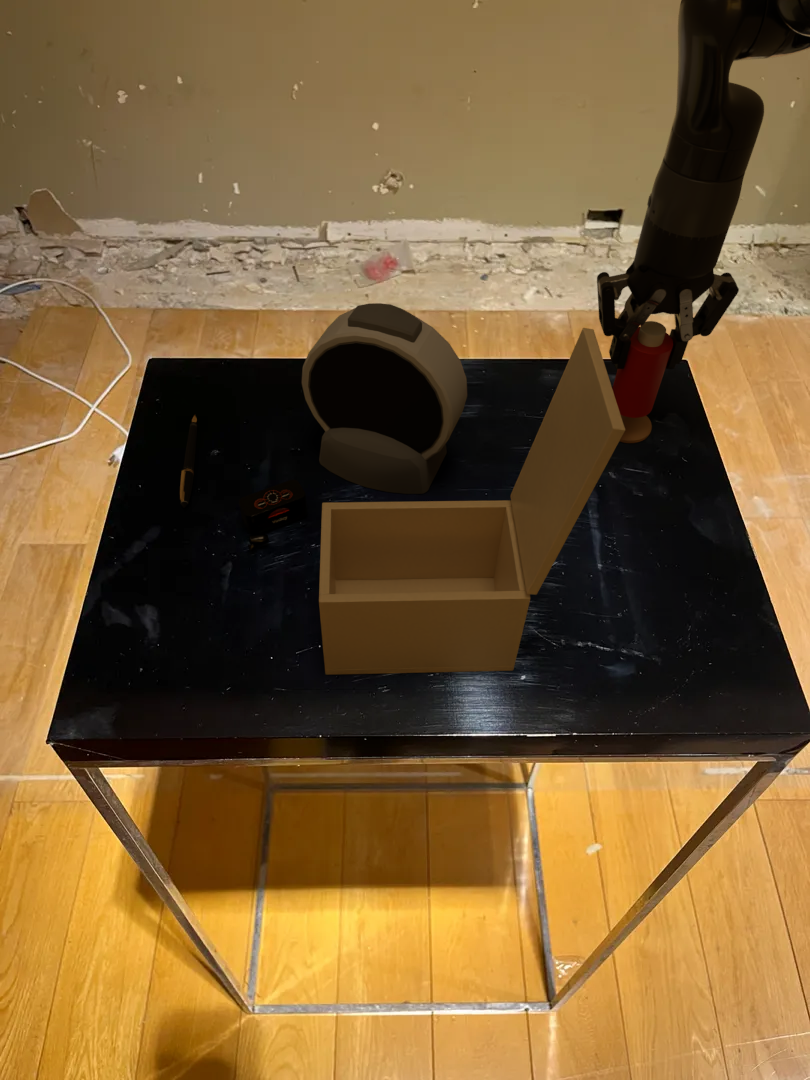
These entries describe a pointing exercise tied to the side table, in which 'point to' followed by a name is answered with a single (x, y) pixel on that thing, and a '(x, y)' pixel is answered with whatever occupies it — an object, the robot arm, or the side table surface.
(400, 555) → the box
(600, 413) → the breadbox lid
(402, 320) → the alarm clock
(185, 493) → the fountain pen
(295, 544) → the side table surface
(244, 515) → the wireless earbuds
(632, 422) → the coaster
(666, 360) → the sauce bottle
